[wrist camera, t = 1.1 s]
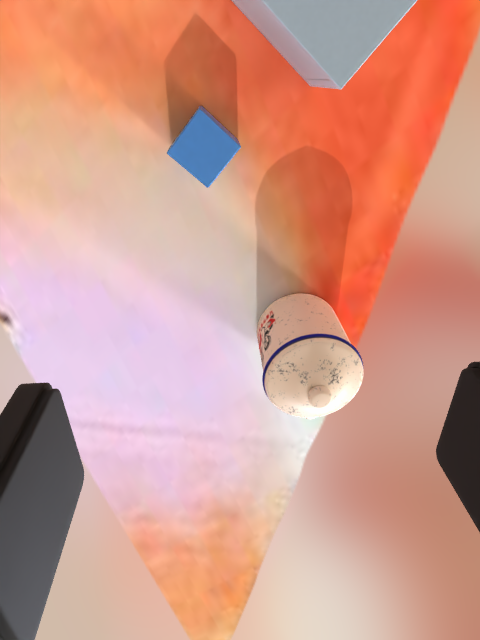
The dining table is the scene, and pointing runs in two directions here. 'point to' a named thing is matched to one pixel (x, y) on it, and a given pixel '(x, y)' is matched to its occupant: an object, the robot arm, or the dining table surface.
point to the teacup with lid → (307, 357)
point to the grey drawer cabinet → (325, 33)
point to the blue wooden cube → (204, 147)
